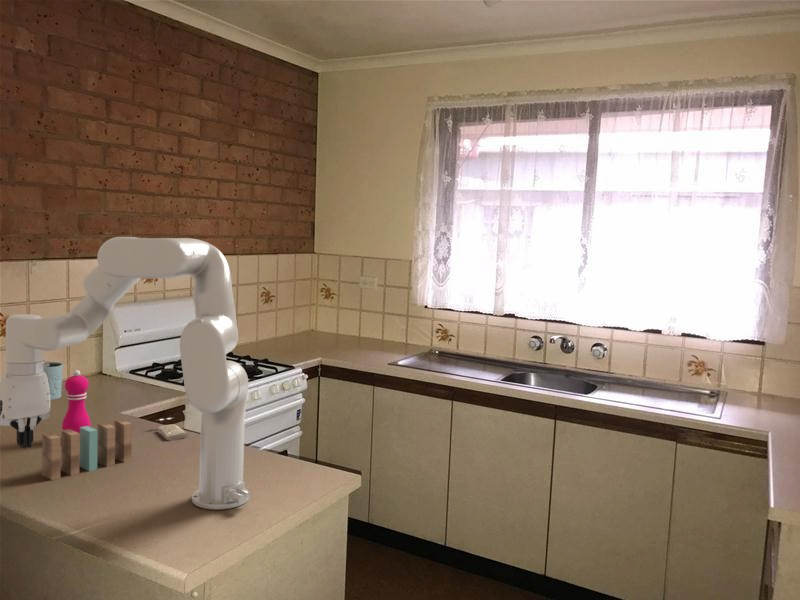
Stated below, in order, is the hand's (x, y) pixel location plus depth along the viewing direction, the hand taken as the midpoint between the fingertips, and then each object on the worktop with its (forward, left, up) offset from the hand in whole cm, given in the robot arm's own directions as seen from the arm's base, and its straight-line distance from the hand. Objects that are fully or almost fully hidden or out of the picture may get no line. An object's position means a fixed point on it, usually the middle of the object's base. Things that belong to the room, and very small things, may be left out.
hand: (24, 446), depth 155 cm
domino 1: (0, -6, -9) cm, 11 cm away
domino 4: (0, -19, -9) cm, 21 cm away
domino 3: (0, -15, -9) cm, 17 cm away
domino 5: (0, -24, -9) cm, 25 cm away
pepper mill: (+23, -23, -9) cm, 34 cm away
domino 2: (0, -10, -9) cm, 14 cm away
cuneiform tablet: (+15, -46, -7) cm, 49 cm away
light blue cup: (+74, -37, -9) cm, 83 cm away
